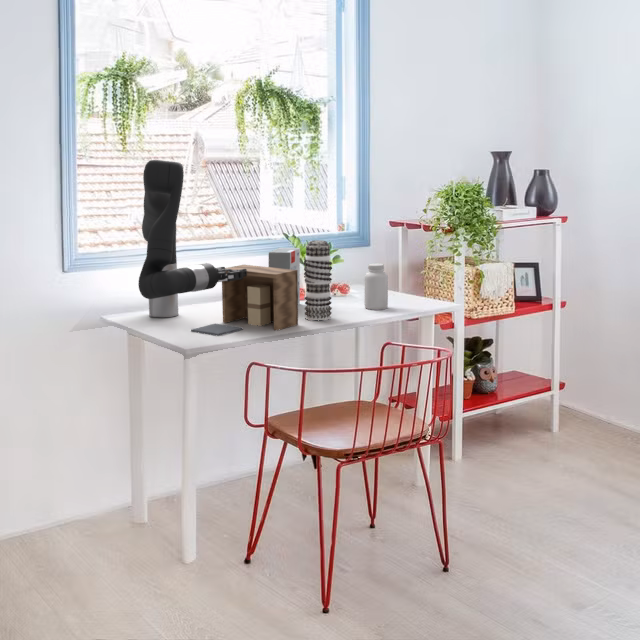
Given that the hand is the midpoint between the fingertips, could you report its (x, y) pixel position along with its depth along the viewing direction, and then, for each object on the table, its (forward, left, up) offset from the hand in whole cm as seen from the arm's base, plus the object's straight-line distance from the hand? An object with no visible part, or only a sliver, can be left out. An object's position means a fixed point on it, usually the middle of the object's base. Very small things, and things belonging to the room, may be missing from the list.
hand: (235, 271), depth 288 cm
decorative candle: (+26, +16, -18) cm, 35 cm away
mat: (-6, 0, -18) cm, 19 cm away
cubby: (+7, +9, -18) cm, 21 cm away
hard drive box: (+16, +36, -18) cm, 43 cm away
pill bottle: (+47, +32, -18) cm, 60 cm away
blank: (+7, +9, -18) cm, 21 cm away
